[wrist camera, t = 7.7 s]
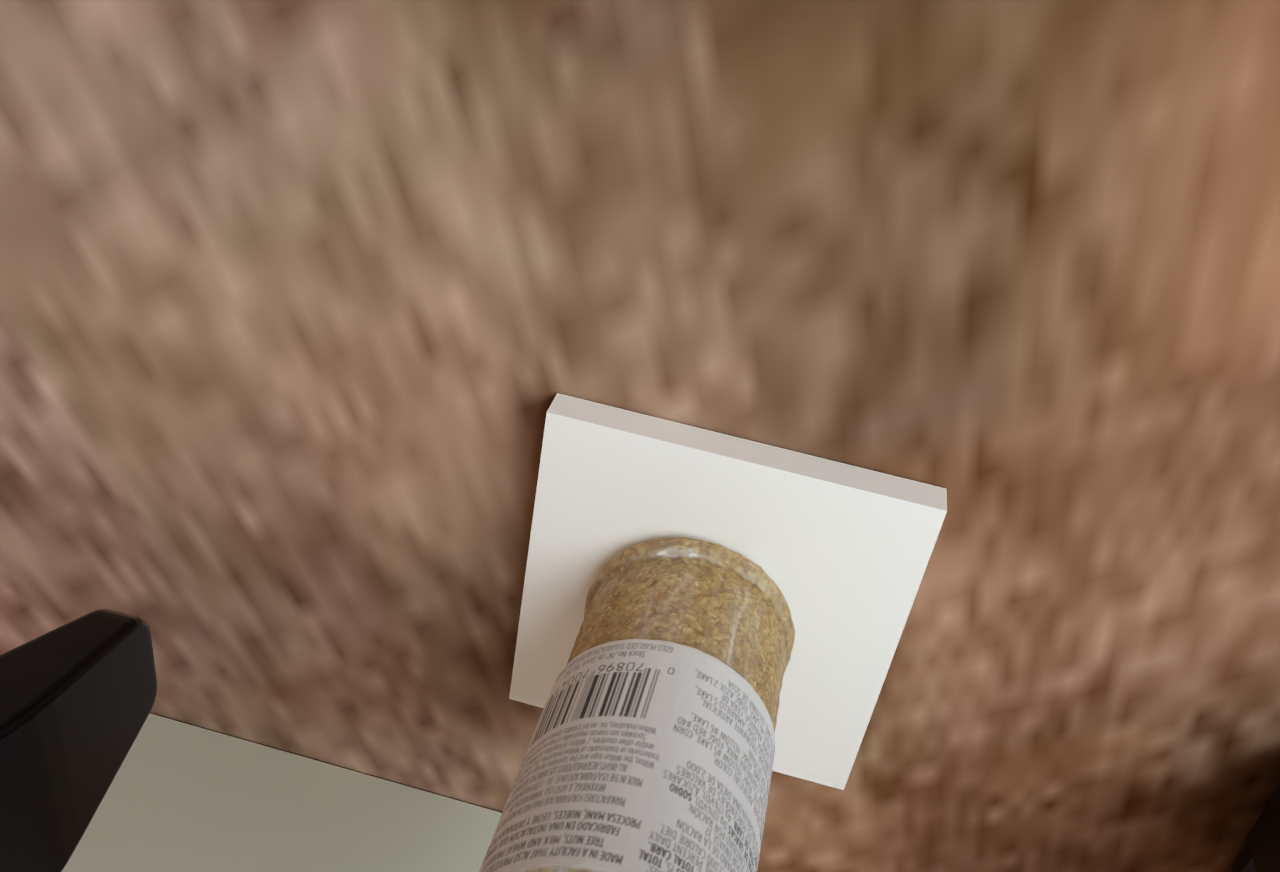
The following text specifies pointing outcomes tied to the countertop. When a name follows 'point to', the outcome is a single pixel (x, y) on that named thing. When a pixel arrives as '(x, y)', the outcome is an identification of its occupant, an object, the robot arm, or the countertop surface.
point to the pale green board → (268, 814)
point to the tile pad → (746, 524)
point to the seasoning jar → (656, 722)
